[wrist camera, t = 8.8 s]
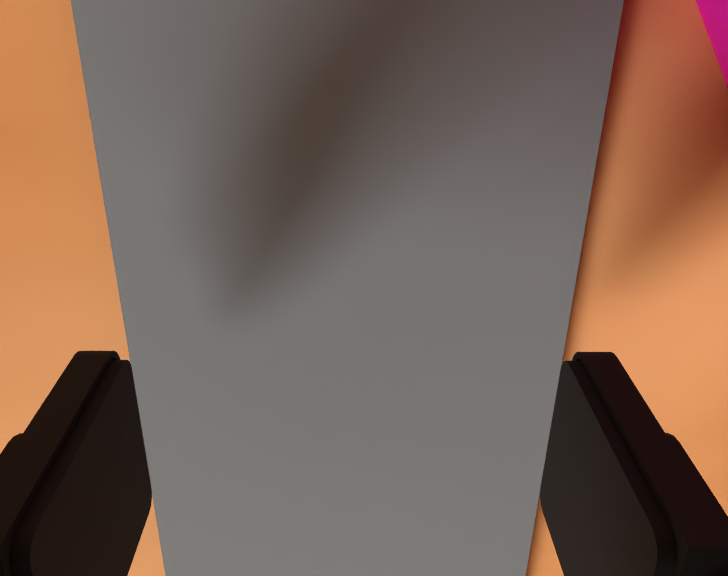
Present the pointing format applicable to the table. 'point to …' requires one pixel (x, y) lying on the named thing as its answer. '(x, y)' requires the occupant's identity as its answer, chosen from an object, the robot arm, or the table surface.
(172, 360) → the felt pad
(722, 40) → the toy block
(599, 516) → the robot arm
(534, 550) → the table surface
